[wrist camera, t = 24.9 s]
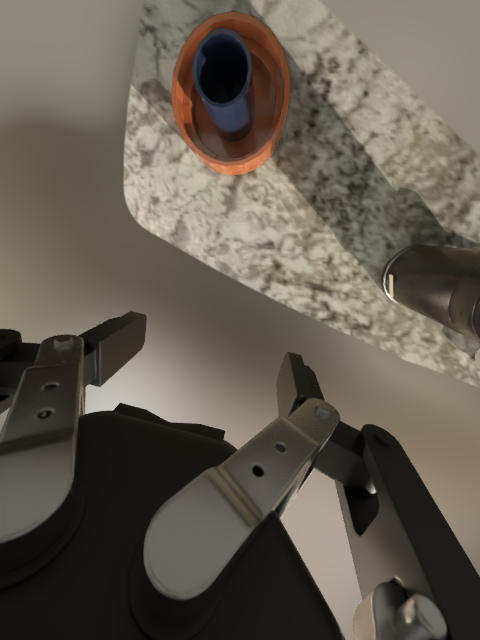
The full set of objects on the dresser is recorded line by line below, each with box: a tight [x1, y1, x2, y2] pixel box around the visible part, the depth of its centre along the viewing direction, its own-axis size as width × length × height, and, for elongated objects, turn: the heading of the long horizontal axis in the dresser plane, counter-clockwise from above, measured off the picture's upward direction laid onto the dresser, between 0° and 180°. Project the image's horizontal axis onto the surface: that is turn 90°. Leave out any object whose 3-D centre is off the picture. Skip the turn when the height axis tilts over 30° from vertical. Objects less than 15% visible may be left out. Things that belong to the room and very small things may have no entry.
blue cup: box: [192, 28, 255, 142], centre depth 26 cm, size 6×6×9 cm
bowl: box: [172, 11, 290, 175], centre depth 29 cm, size 14×14×5 cm
